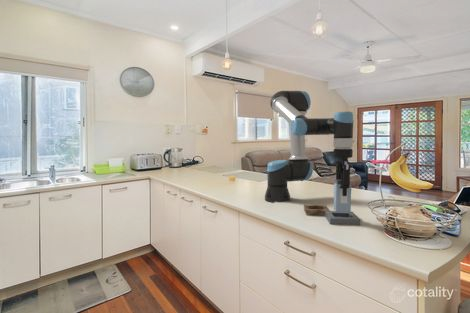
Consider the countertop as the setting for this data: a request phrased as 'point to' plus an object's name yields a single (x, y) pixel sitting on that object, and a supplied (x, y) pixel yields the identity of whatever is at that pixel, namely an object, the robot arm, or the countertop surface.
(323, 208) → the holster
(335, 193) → the plug
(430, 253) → the countertop surface
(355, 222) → the port
